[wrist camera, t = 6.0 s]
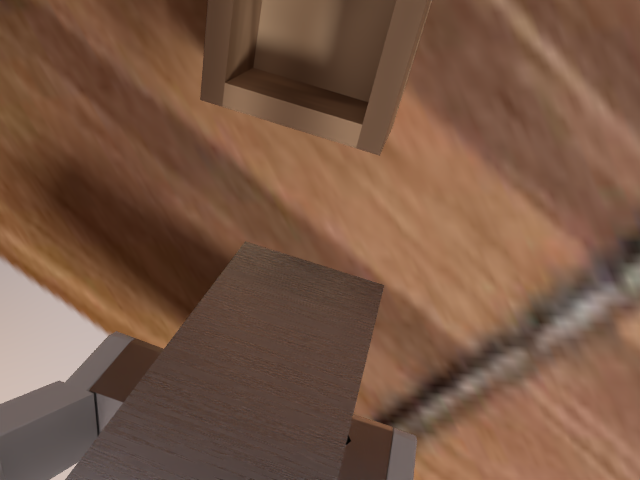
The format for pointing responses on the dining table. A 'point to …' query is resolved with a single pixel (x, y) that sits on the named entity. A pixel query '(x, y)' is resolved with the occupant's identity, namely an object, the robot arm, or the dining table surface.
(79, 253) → the dining table surface
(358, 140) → the wooden tray
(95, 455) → the grey block
